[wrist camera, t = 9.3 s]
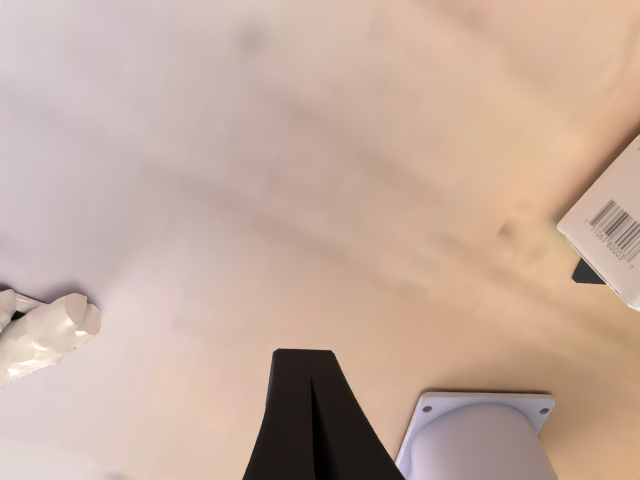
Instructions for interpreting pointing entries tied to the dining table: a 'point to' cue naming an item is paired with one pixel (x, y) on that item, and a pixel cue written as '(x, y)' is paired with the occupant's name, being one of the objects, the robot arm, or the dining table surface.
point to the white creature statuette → (42, 332)
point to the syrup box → (611, 225)
